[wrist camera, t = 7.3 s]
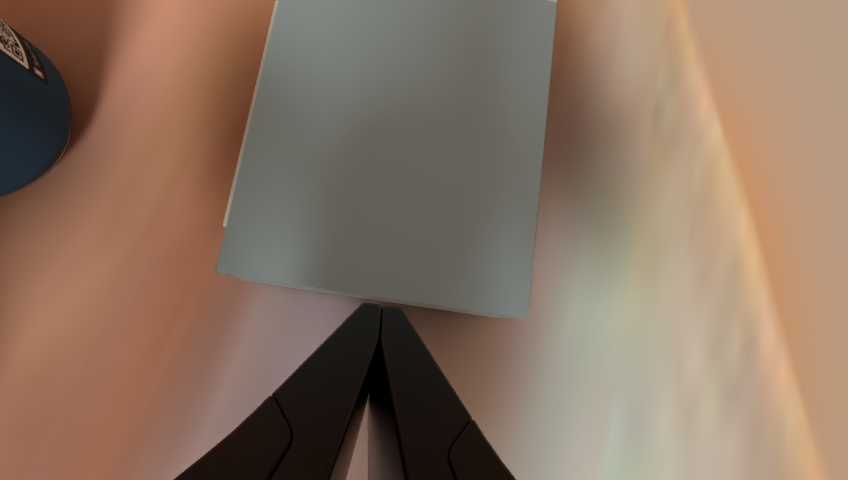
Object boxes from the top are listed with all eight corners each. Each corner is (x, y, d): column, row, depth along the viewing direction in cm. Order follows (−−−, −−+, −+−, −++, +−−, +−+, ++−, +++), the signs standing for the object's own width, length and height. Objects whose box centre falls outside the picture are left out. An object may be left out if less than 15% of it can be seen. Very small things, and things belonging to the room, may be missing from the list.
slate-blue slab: (528, 318, 14) (557, 2, 16) (215, 272, 13) (292, -59, 15) (493, 317, 18) (520, 62, 20) (249, 281, 17) (307, 17, 19)
